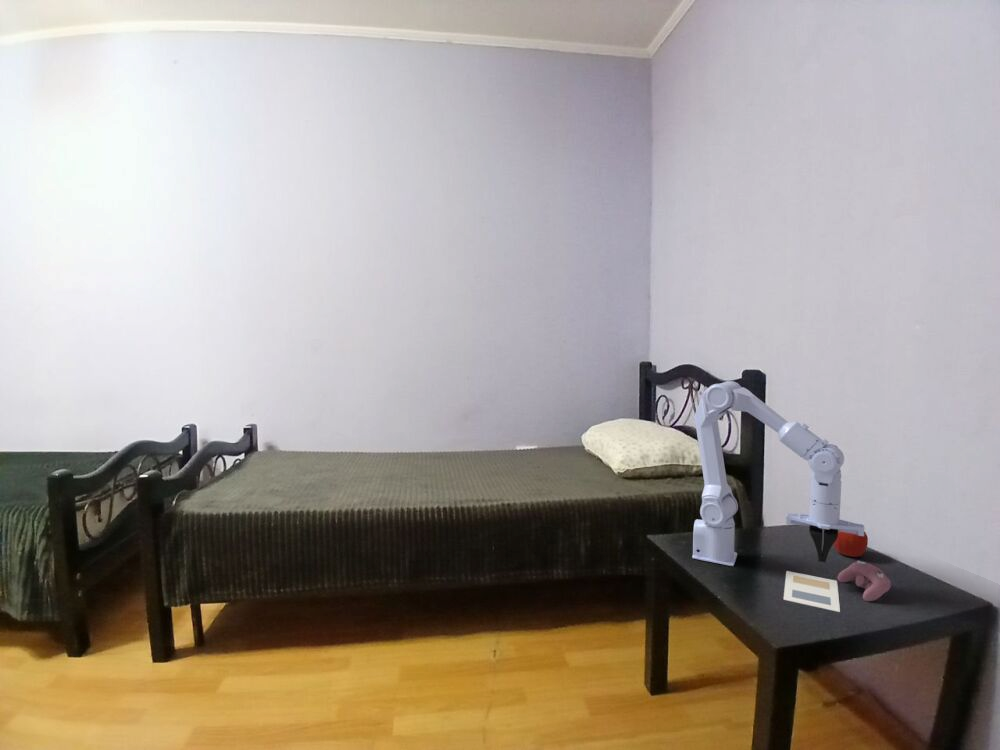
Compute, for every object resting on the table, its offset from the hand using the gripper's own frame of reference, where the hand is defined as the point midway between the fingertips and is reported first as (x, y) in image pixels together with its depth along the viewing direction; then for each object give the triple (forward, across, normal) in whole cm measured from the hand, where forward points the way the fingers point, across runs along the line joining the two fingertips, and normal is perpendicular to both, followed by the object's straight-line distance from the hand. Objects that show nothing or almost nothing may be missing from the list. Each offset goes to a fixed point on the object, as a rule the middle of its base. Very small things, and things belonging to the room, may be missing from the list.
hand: (822, 560), depth 115 cm
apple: (+6, +6, +22) cm, 24 cm away
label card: (+6, -2, -4) cm, 7 cm away
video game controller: (+6, +8, +2) cm, 10 cm away
